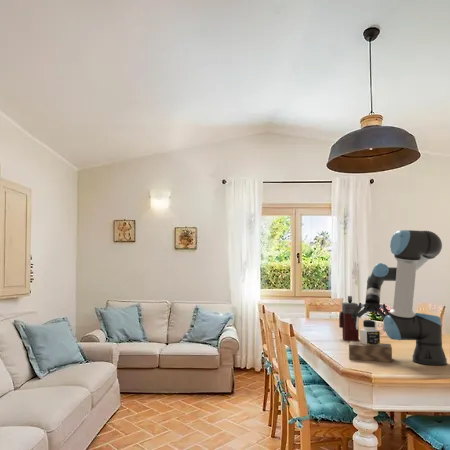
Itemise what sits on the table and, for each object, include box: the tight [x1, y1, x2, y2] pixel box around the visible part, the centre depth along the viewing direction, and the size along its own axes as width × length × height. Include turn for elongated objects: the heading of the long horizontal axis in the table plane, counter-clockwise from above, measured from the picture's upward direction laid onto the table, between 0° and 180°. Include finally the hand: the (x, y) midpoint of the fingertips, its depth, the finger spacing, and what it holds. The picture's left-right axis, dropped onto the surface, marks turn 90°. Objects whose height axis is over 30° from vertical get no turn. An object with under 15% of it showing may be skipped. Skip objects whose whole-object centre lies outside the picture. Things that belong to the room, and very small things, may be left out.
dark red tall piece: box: [338, 295, 360, 342], centre depth 281 cm, size 9×11×28 cm
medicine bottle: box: [359, 319, 381, 345], centre depth 219 cm, size 7×7×12 cm
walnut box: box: [348, 341, 393, 363], centre depth 218 cm, size 20×12×7 cm, turn 72°
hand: (370, 328), depth 225 cm, fingers open, 13 cm apart
